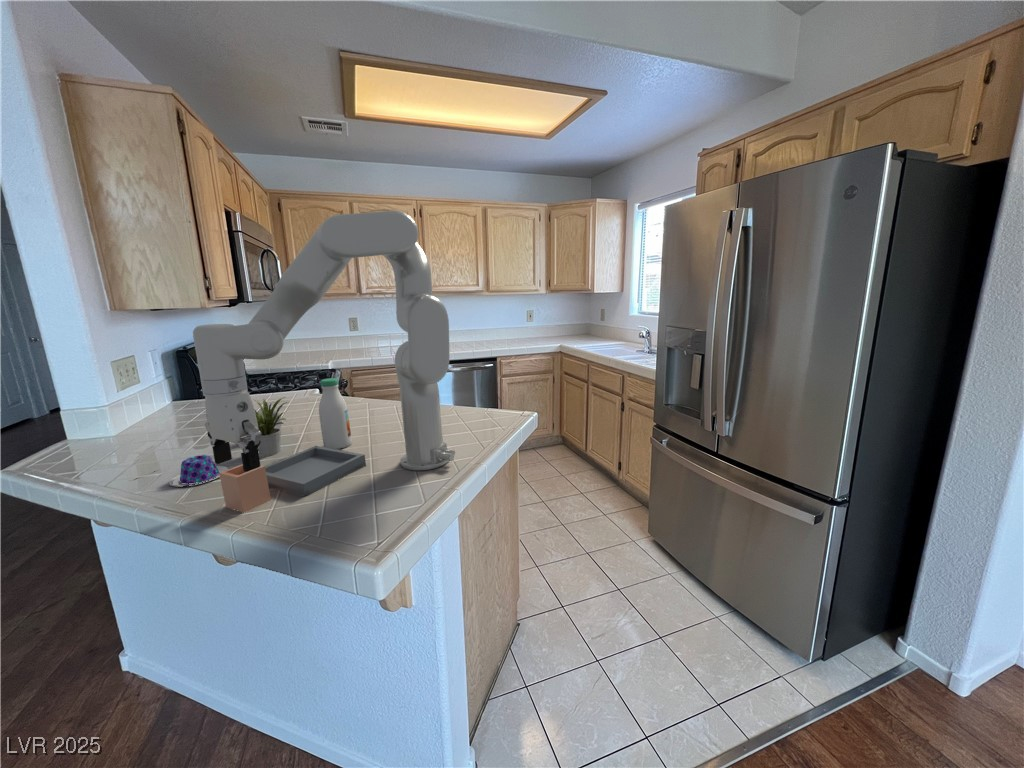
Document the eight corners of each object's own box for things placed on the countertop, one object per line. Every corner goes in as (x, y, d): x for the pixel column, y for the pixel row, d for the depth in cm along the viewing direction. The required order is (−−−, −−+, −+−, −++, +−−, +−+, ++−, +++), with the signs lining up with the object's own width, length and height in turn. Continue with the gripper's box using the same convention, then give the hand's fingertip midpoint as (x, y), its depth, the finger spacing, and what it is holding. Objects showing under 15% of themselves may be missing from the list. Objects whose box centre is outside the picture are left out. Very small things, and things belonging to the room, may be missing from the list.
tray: (366, 465, 109) (364, 454, 108) (305, 496, 93) (303, 484, 92) (317, 456, 117) (316, 445, 116) (254, 483, 101) (252, 471, 100)
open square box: (271, 500, 92) (264, 466, 91) (243, 513, 87) (236, 477, 85) (253, 495, 95) (247, 462, 93) (226, 507, 90) (219, 473, 88)
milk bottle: (345, 450, 120) (336, 381, 116) (319, 451, 120) (308, 382, 116) (356, 440, 128) (347, 376, 123) (331, 441, 128) (321, 377, 124)
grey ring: (262, 442, 129) (256, 411, 127) (253, 442, 130) (247, 411, 128) (286, 432, 139) (281, 402, 137) (278, 431, 140) (273, 402, 138)
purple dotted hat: (232, 477, 106) (229, 458, 104) (172, 494, 98) (167, 473, 96) (223, 464, 114) (220, 446, 113) (167, 479, 106) (163, 459, 105)
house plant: (308, 440, 129) (301, 389, 126) (294, 457, 116) (284, 400, 112) (258, 445, 127) (249, 393, 123) (237, 463, 114) (226, 405, 110)
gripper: (270, 385, 85) (281, 465, 88) (219, 379, 92) (231, 453, 96) (231, 393, 78) (245, 479, 82) (180, 386, 86) (194, 465, 89)
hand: (237, 465), depth 89 cm, fingers open, 9 cm apart
